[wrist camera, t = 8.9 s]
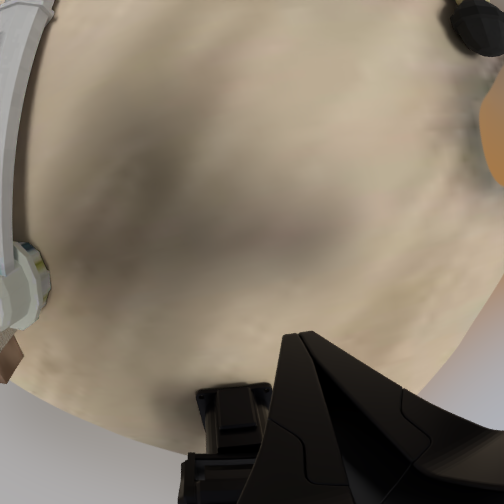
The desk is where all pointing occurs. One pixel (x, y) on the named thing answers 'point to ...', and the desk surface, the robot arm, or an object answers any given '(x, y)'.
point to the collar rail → (8, 354)
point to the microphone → (480, 26)
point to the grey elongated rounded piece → (3, 158)
